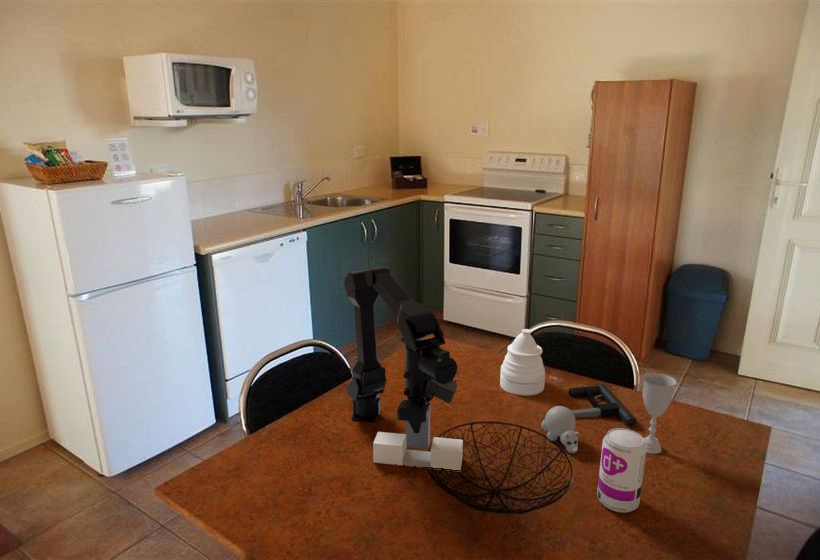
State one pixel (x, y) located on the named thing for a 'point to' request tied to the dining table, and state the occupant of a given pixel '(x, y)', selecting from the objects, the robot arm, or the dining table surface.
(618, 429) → the supplement can
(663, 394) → the chalice
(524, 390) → the honey pot
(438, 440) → the white block dumbbell
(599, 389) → the toy submachine gun
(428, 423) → the grey brushed metal block
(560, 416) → the round bodied animal figurine
